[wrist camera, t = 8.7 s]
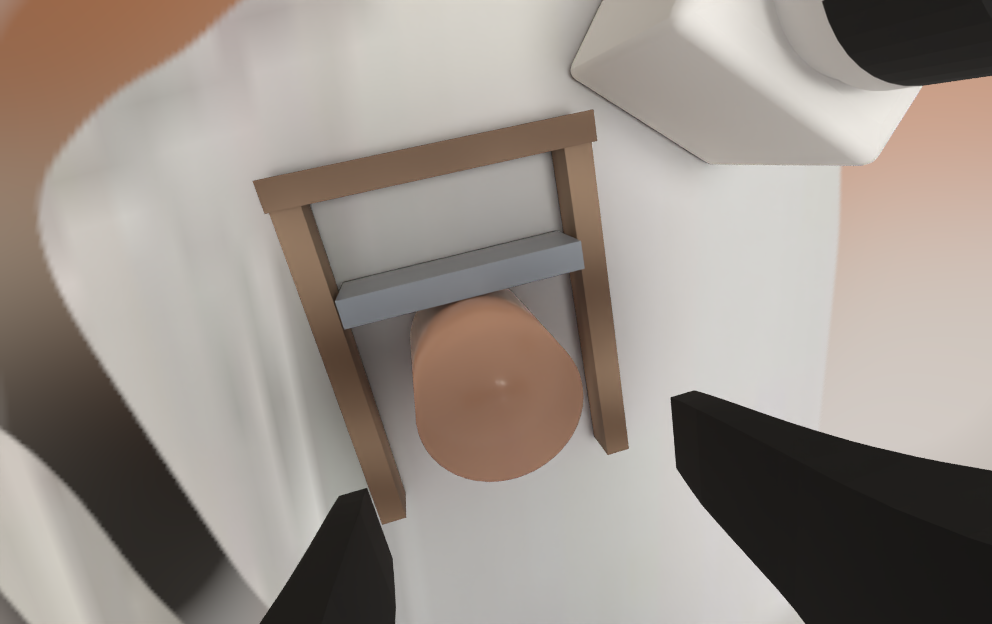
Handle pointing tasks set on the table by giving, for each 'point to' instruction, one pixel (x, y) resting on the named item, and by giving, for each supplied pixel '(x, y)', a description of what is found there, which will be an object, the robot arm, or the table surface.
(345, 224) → the table surface
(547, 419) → the terracotta jar
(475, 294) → the plate
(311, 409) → the table surface
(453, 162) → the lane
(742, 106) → the medicine bottle
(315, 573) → the robot arm
